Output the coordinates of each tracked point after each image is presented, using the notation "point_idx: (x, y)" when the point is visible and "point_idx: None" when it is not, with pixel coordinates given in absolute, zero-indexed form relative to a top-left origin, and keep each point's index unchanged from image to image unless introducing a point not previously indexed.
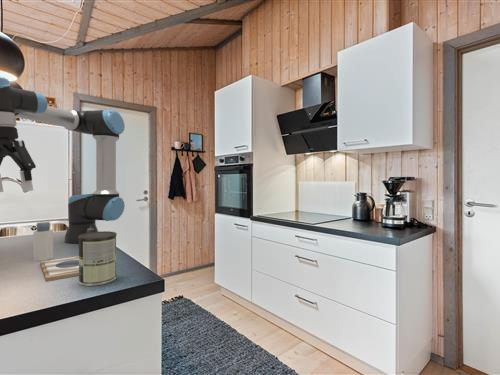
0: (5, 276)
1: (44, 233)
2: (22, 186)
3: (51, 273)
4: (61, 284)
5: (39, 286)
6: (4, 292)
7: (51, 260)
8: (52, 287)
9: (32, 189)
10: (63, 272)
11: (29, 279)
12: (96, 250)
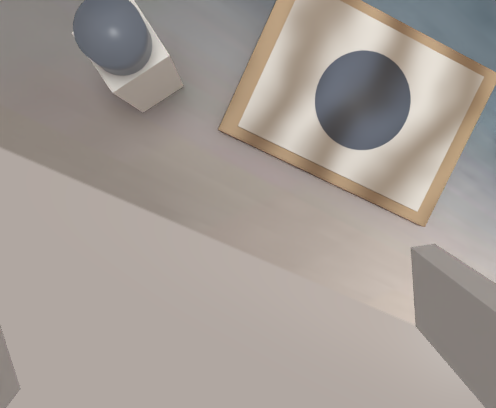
0: (258, 255)
1: (163, 64)
2: (445, 356)
3: (406, 199)
4: (481, 219)
5: None
6: (402, 319)
7: (252, 106)
8: (480, 244)
9: (438, 253)
10: (431, 176)
11: (355, 237)
12: None
